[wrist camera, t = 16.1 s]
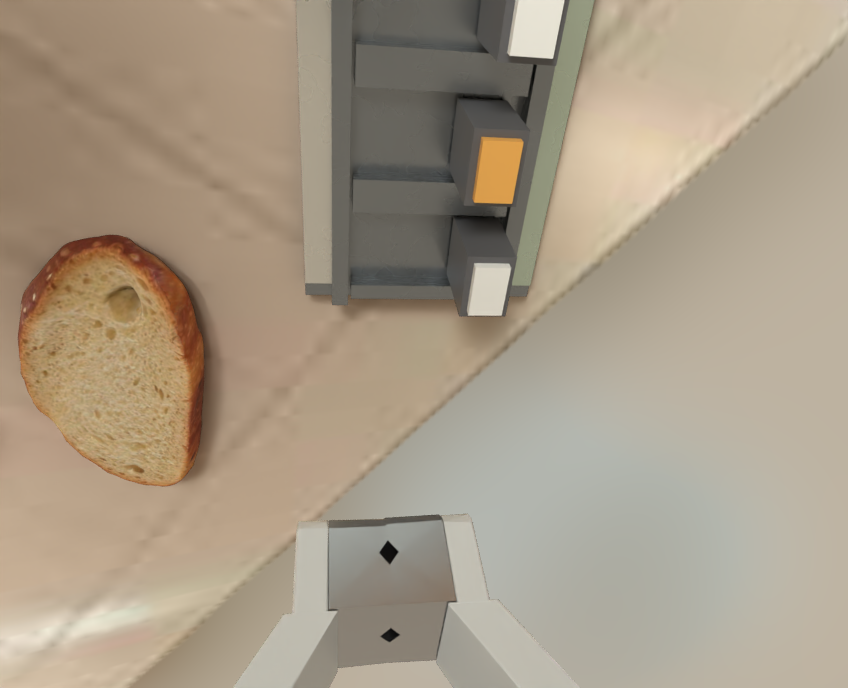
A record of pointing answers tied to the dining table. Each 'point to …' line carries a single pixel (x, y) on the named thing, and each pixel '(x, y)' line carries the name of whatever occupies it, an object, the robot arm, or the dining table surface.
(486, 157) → the breaker mid
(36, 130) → the dining table surface
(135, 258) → the slice of bread
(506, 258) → the breaker
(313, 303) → the dining table surface
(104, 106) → the dining table surface
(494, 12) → the breaker
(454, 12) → the panel
